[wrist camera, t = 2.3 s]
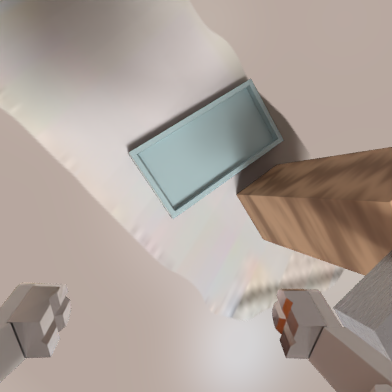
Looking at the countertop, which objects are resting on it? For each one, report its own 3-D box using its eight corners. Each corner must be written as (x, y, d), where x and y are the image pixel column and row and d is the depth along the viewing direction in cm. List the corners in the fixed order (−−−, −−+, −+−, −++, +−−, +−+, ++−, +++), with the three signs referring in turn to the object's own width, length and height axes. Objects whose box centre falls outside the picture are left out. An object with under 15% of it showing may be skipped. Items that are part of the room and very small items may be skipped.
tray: (171, 217, 40) (173, 218, 38) (128, 154, 38) (128, 152, 36) (276, 142, 46) (283, 140, 44) (245, 83, 44) (250, 78, 42)
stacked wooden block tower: (263, 239, 46) (467, 311, 19) (236, 194, 44) (420, 203, 17) (301, 208, 48) (531, 233, 21) (277, 164, 46) (495, 131, 19)
